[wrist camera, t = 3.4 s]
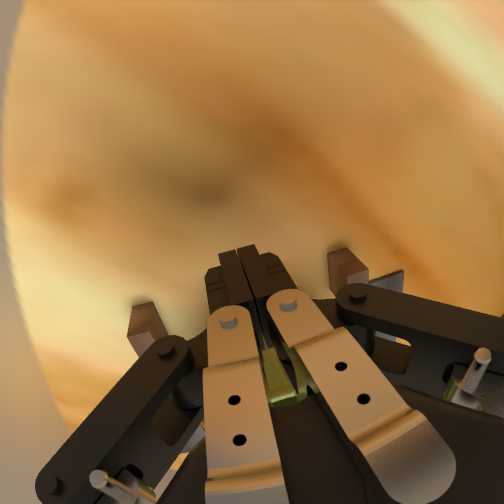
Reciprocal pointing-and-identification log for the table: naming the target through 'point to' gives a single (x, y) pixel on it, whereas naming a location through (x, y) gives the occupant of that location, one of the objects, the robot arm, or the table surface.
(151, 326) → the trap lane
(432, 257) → the table surface
